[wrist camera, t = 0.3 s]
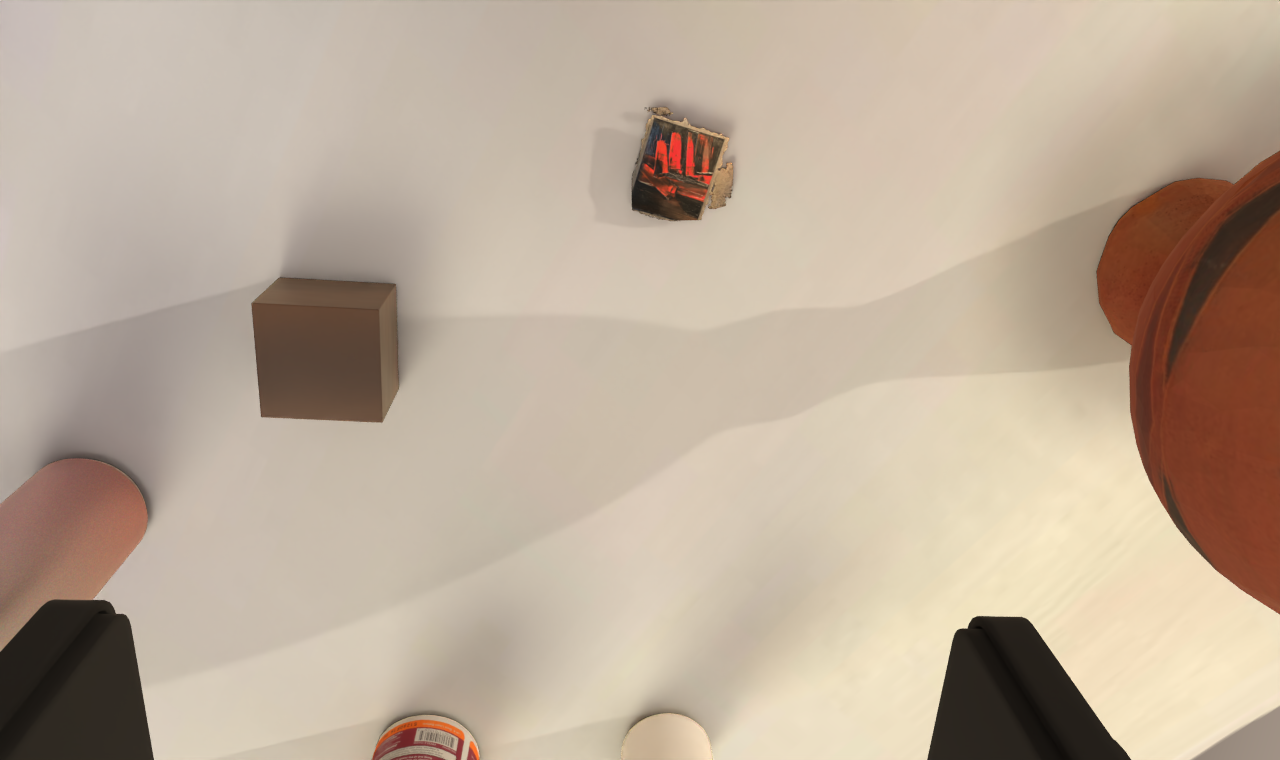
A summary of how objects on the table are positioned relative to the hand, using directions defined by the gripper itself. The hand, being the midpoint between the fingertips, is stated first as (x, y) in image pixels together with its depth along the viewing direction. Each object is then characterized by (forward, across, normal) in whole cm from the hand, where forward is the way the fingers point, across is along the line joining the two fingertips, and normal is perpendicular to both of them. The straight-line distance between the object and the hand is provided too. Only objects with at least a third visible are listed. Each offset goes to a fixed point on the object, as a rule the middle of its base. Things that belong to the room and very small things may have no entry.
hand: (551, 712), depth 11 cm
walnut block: (+36, +12, +8) cm, 39 cm away
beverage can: (+36, +25, +18) cm, 47 cm away
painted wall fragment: (+36, -5, 0) cm, 36 cm away
